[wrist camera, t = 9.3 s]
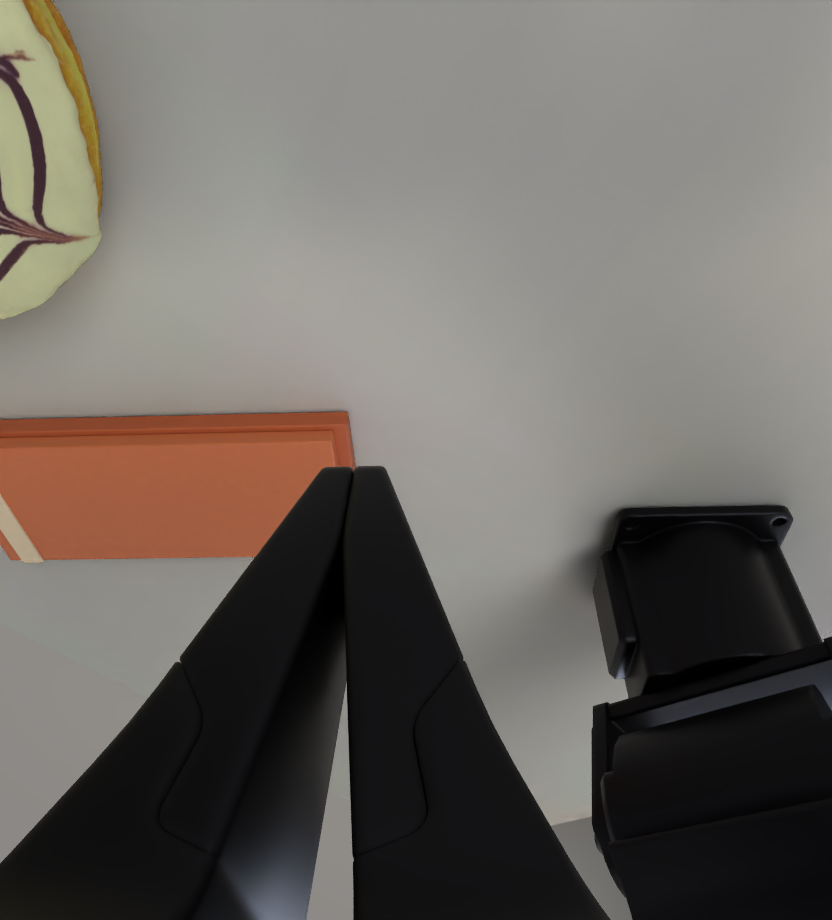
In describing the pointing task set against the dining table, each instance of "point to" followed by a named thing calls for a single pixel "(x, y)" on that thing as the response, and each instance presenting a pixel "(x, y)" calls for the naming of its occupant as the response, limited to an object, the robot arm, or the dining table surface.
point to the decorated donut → (44, 157)
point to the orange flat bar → (159, 482)
